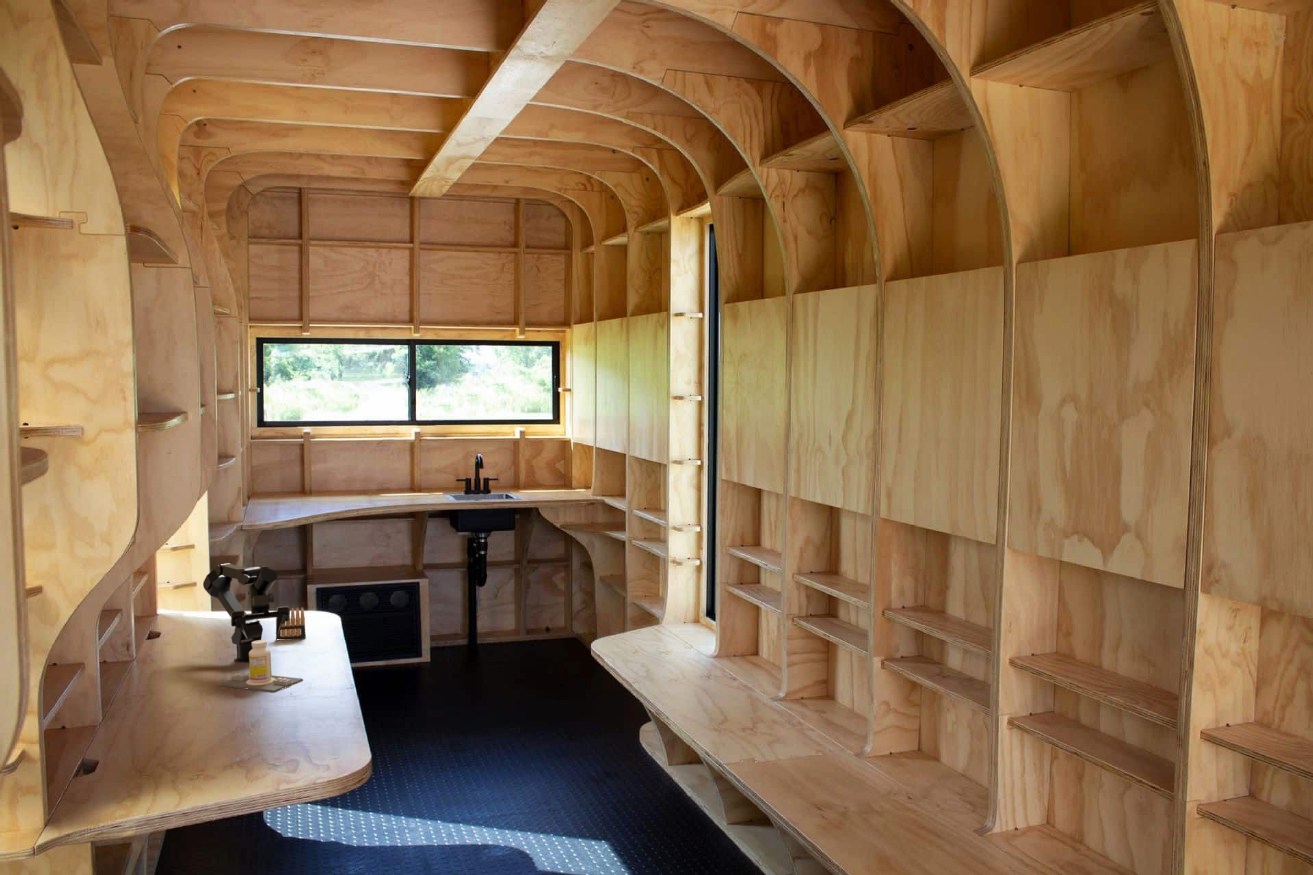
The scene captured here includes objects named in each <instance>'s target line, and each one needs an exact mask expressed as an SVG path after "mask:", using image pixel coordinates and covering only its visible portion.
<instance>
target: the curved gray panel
mask: <svg viewBox="0 0 1313 875" xmlns="http://www.w3.org/2000/svg"><path fill="white" fill-rule="evenodd" d="M303 681H304V679H303V678H301V677H300V678H299V677H291V676H290V677H289V676H281V675H272V678H271V680H269V681H267V682H262V683H253V682H251V681H250V672H247V673H241V674H240V673H235V674H232V675H231V678H230V679H229V680H226V681H223V682H220V683H219V684H218V687H223V686H224V687H225V686H226V687H225V688H232V687H236V688H235V689H241V688H248V689H247V690H250V689H255V690H254V691H260V692H268V691H270V692H269V693H276V692H278V691H281V690H283V689H282V688H284V689H286V688H287V686H288V687H290V686H293V685H296V684H298V683H300V682H303ZM292 684H293V685H292ZM224 687H223V688H224ZM285 687H286V688H285ZM280 689H281V690H280ZM275 691H276V692H275Z"/></svg>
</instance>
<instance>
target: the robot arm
mask: <svg viewBox="0 0 1313 875" xmlns="http://www.w3.org/2000/svg"><path fill="white" fill-rule="evenodd" d="M233 579H235V580H237V582H238V583H239V584H241V585H242V586H249V585H250V586H249V587H248V591H247V595H249V602H250V604H249V605H250V613H247V612H246V611H245V609H244V608H243V606H242V605H241V604H240V602H239V601H238V600H237V598H236V596H235V595H234V593H233V592H232V591H231V584H232V582H233ZM277 579H278V574H277V572H276V571H275V570H274V569H271V568H269V567H268V566H267V565H265V566H261V567H260V566H251V567H244V566H239V565H235V564H232V563H231V562H230V563H229V562H226V563H221V564H220V563H219V564H218V565H216V566H215V567H214V569H212V570H211V571H210V572H209V573H208V574H207V575H206V576H205V578H204V580H203V584H202V585H203V589H204V590H205V592H206V593H207V594H208V595H209V596H212V597H213V598H216V599H217V600H218V601H219V602H220V604H221V606H222V607H223V608H224V610H225V612H226V613H227V614H228V616H229V617H230V626H231V627H232V628H233V627H234V632H233V634H231V637H230V638H231V642H232V644H233V645H236V658H234V659H233V661H236V662H244V663H245V662H246V663H249V652H250V651H251V650H252V649H253V647H252V642H253V641H257V640H262V638H263V637H262V636H263V630H264V629H263V625H262V624H261V620H264V619H272V618H273V619H274V618H275V619H276V617H277V622H276V621H275V638H276V637H278V633H279V630H280V627H281V625H282V624H284V623H285V622H286V621H289V616H290V617H291V610H290V607H289V606H288V605H287V606H277V607H276V611H275V610H274V611H270V604H275V593H274V592H269V593H268V591H270V589H271V588H272V586H273V585H274V583H275V582H276V580H277Z"/></svg>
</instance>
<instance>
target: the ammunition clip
mask: <svg viewBox="0 0 1313 875" xmlns="http://www.w3.org/2000/svg"><path fill="white" fill-rule="evenodd" d="M305 617H306V616H305V610H304V607H303V606H302V607H301V608H300V610H299V607H296V609H295V610H294V607H292V608H291V610H290V616H289V621H286V622H285V623H284V624H282V625H281V627H280V630H279V633H278V637H276V636H275V641H276V640H277V639H292V640H305V639H306V637H307V636H306V635H307V634H306V618H305ZM276 622H277V617H276V618H275V623H276ZM302 638H303V639H302ZM277 641H278V640H277Z"/></svg>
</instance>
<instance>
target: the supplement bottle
mask: <svg viewBox="0 0 1313 875" xmlns="http://www.w3.org/2000/svg"><path fill="white" fill-rule="evenodd" d="M267 644H268V641H267V640H266V639H265V640H264V639H261V640H257V641H253V642H252V647H253V649H252V650H251V651H250V652H249V662H248V664H249V673H250V681H251V682H253V683H262V682H267V681H269V680H271V678H272V676H273V675H272V661H271V660H272V656H271V649H270V648H268V647H267Z"/></svg>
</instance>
